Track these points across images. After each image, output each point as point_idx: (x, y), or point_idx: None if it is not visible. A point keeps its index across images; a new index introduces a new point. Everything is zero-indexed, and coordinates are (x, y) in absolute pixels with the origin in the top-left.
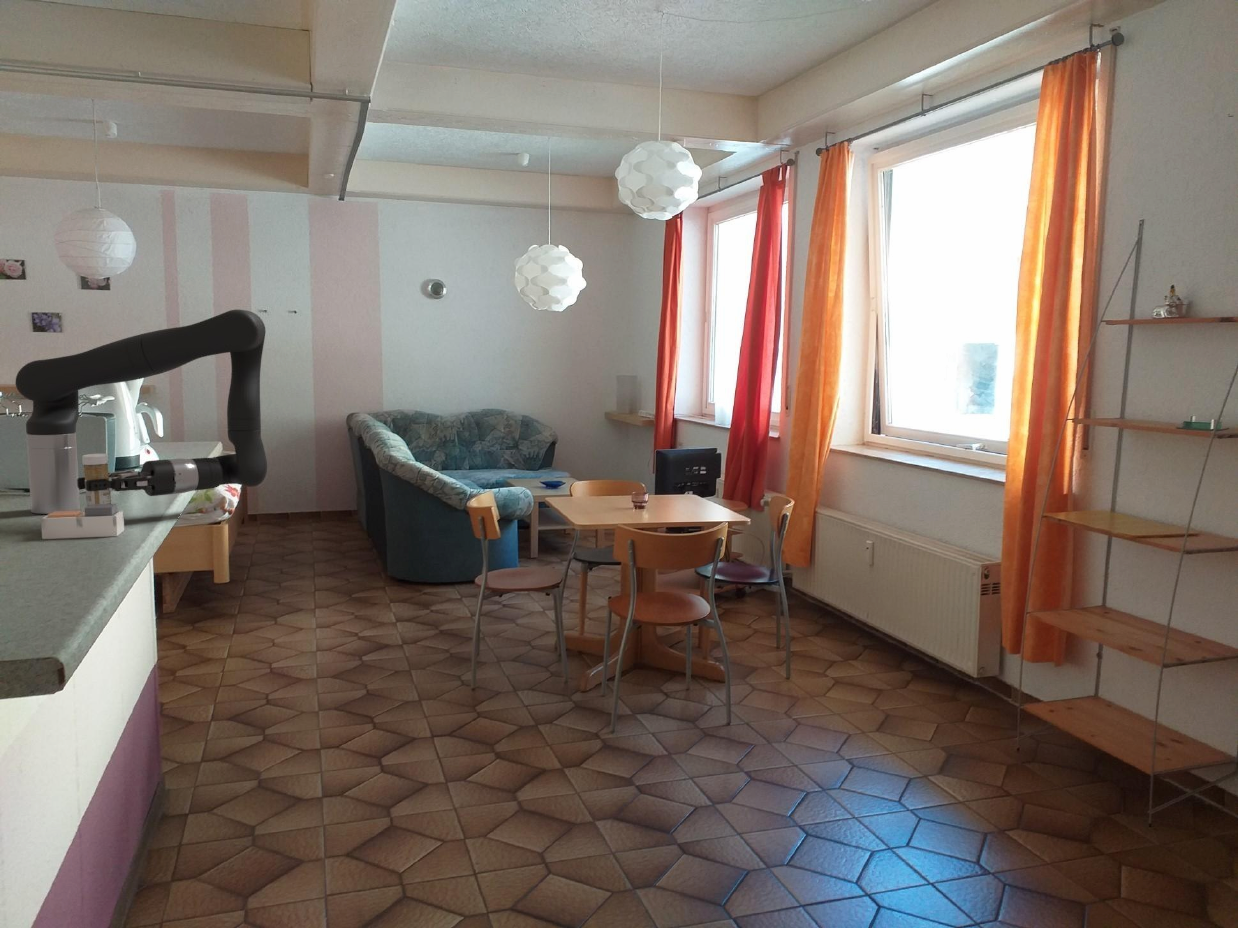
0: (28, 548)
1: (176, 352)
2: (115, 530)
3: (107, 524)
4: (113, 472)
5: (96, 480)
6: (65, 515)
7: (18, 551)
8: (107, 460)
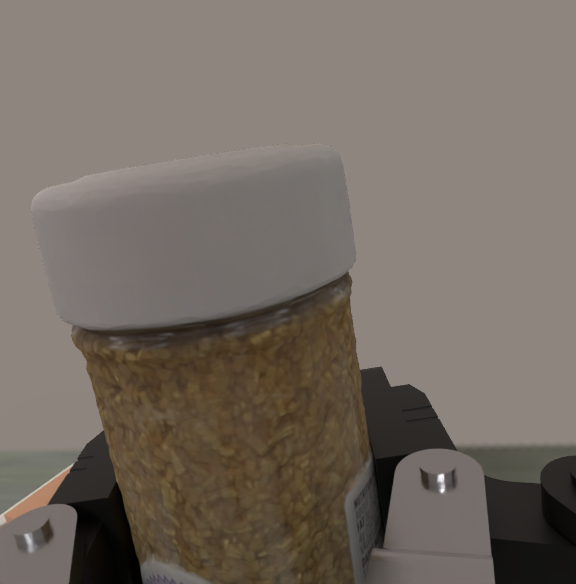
0: (17, 479)
1: None
2: None
3: None
4: (395, 573)
5: (107, 447)
6: (49, 488)
7: (5, 462)
8: (63, 286)
